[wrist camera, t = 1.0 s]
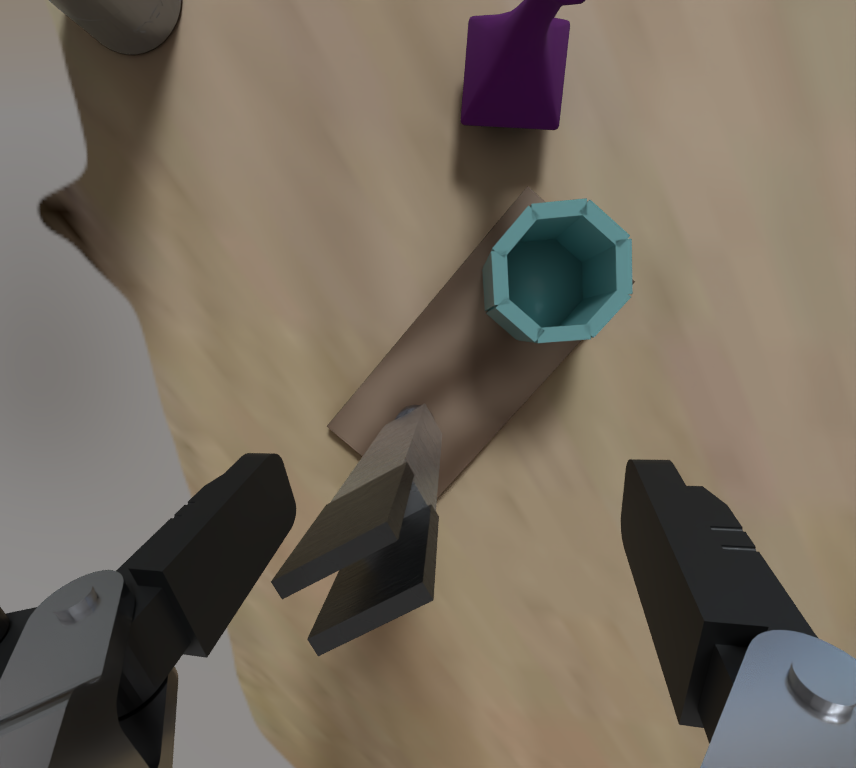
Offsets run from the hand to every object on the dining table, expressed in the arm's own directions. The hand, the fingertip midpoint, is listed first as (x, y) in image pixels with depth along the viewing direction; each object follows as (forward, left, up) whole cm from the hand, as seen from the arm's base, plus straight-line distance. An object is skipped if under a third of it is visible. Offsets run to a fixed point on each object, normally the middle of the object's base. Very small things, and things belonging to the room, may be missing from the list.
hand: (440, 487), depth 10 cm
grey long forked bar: (+1, -6, -27) cm, 28 cm away
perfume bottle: (-11, +20, -28) cm, 37 cm away
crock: (+1, +10, -27) cm, 29 cm away
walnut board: (+1, +2, -28) cm, 28 cm away
